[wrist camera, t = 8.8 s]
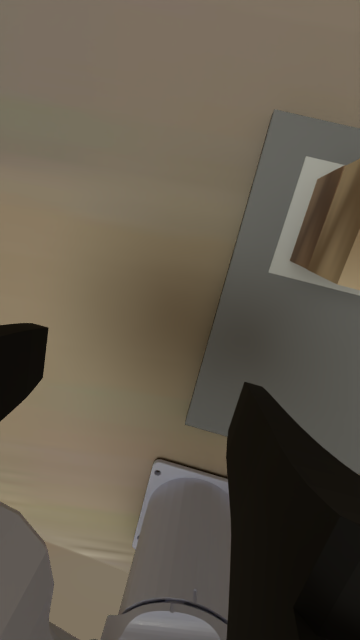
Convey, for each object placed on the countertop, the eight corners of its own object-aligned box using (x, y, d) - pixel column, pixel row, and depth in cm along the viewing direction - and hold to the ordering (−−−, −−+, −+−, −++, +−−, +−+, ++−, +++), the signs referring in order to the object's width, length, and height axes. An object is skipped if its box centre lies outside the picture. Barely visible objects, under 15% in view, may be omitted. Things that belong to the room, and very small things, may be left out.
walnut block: (366, 279, 18) (404, 293, 14) (289, 260, 18) (307, 269, 15) (400, 198, 17) (453, 190, 13) (317, 179, 17) (344, 165, 13)
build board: (389, 475, 22) (396, 485, 22) (186, 418, 23) (184, 425, 22) (553, 178, 16) (571, 175, 16) (272, 114, 17) (274, 108, 16)
